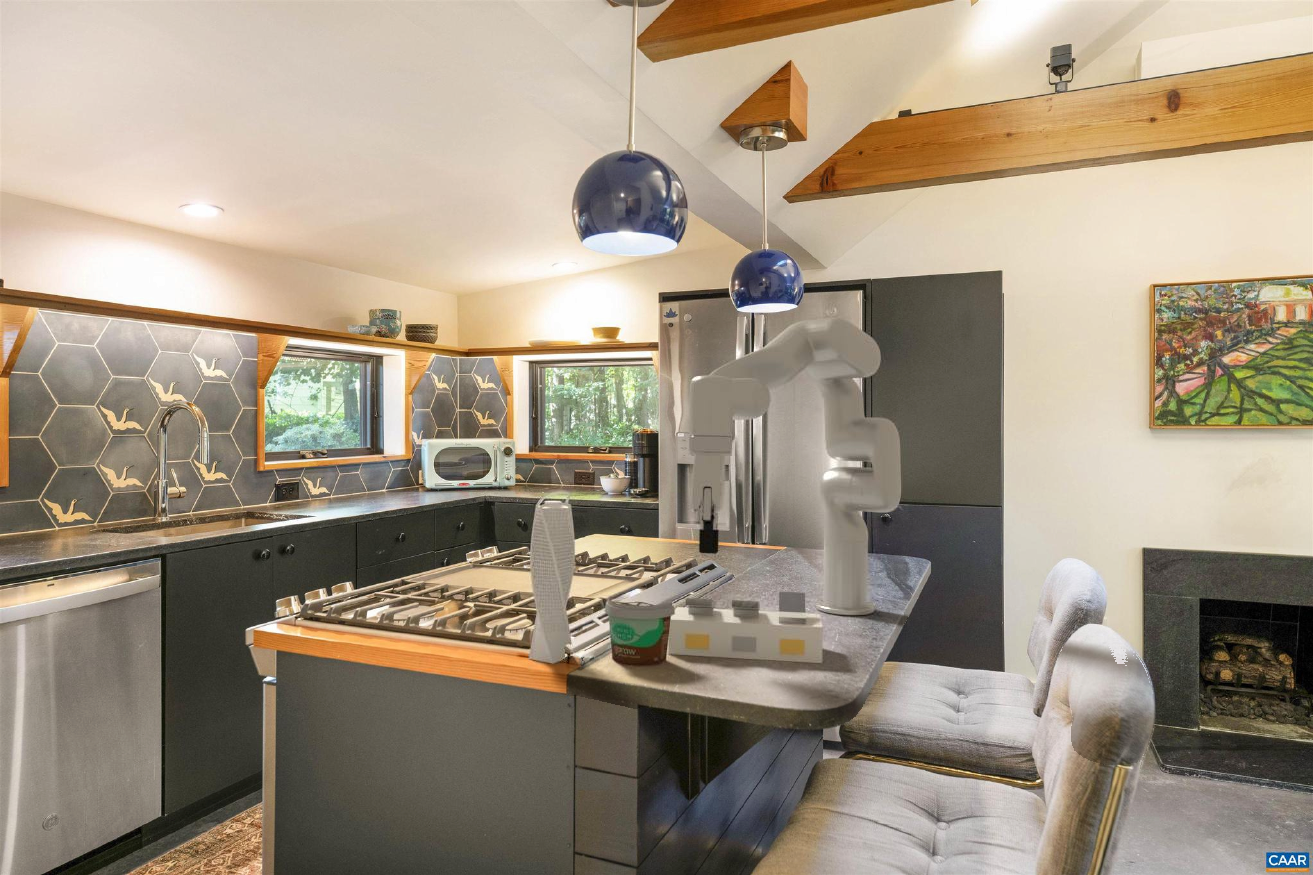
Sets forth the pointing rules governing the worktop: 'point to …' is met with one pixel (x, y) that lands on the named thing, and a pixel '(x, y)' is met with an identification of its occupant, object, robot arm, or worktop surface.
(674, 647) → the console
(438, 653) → the worktop surface
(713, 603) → the switch
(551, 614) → the skyscraper
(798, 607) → the switch
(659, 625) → the food container
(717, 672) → the worktop surface
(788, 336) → the robot arm
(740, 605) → the switch
